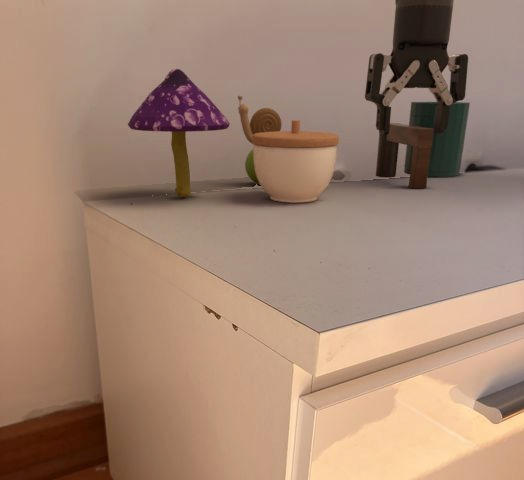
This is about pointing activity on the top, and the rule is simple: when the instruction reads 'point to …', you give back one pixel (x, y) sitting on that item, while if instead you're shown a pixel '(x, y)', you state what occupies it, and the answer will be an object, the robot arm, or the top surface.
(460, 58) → the robot arm
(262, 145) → the trinket box
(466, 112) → the jar
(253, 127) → the snail figurine
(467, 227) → the top surface
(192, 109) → the decorative mushroom
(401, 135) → the brown wooden arch
